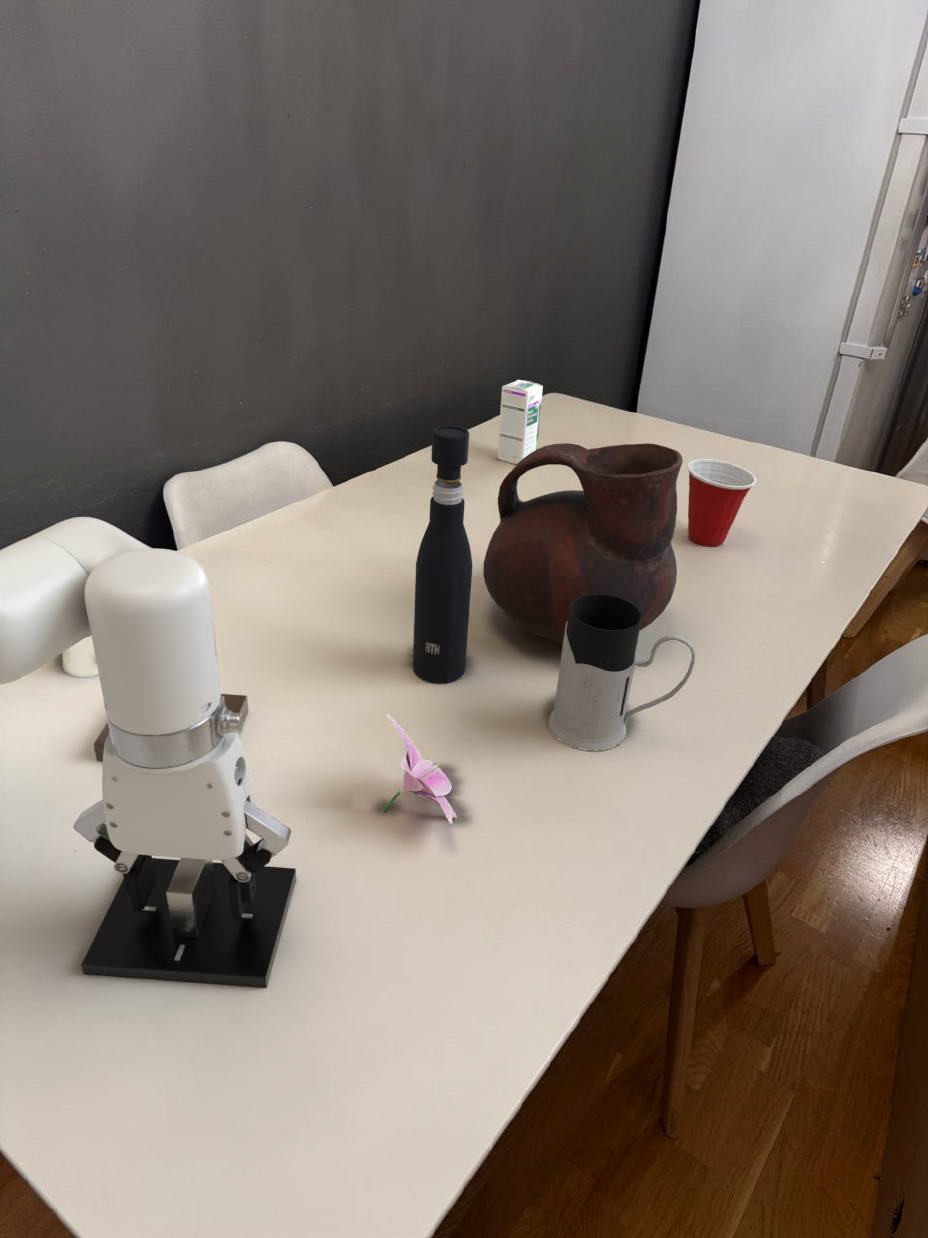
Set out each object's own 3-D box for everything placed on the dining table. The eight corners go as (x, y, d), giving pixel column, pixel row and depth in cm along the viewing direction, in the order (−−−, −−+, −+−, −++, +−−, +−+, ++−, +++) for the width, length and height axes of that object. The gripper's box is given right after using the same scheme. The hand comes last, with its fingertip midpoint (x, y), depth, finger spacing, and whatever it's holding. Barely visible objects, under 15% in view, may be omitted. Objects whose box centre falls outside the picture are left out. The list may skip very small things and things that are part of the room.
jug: (539, 559, 134) (558, 398, 121) (694, 615, 122) (733, 442, 109) (441, 624, 116) (451, 443, 103) (612, 697, 104) (646, 502, 92)
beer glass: (129, 669, 104) (110, 555, 96) (67, 686, 100) (42, 569, 92) (112, 641, 109) (93, 531, 101) (52, 657, 105) (27, 543, 97)
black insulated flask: (455, 651, 111) (470, 419, 96) (472, 680, 106) (490, 439, 90) (406, 658, 109) (413, 422, 94) (420, 687, 104) (430, 443, 88)
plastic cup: (739, 559, 138) (756, 488, 132) (669, 546, 141) (683, 475, 135) (743, 532, 147) (759, 464, 141) (678, 520, 150) (691, 453, 144)
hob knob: (198, 939, 69) (191, 892, 66) (172, 937, 69) (164, 890, 66) (216, 889, 73) (210, 843, 71) (192, 888, 73) (185, 842, 71)
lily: (438, 885, 80) (490, 801, 77) (324, 822, 79) (373, 735, 77) (451, 826, 91) (497, 751, 89) (352, 771, 91) (395, 694, 89)
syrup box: (522, 466, 167) (529, 390, 160) (495, 459, 170) (501, 384, 163) (536, 458, 172) (544, 384, 164) (510, 451, 174) (517, 378, 167)
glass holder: (556, 696, 104) (572, 584, 96) (678, 723, 101) (704, 610, 93) (540, 740, 97) (556, 623, 89) (671, 770, 93) (698, 652, 86)
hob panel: (86, 986, 68) (80, 963, 66) (137, 876, 77) (133, 855, 76) (267, 999, 68) (265, 977, 66) (297, 888, 77) (295, 866, 76)
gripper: (303, 700, 64) (311, 873, 73) (66, 683, 65) (103, 857, 74) (280, 767, 58) (292, 948, 67) (17, 748, 58) (64, 931, 67)
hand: (193, 899), depth 70 cm, fingers open, 7 cm apart
